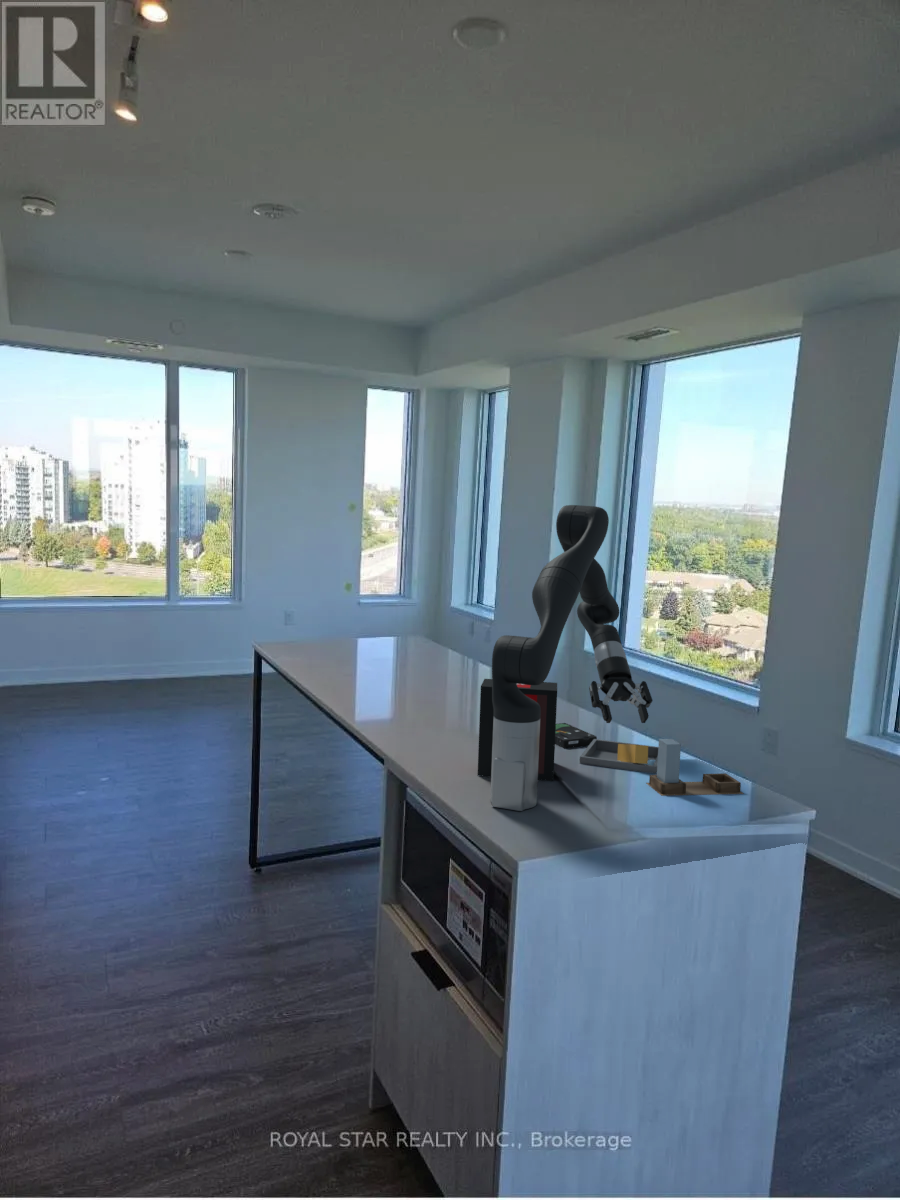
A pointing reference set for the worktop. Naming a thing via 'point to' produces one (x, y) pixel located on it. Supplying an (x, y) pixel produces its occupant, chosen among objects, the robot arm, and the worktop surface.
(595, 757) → the tray
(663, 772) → the block
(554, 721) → the cleaning product box
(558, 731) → the disk drive
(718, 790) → the block
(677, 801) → the worktop surface
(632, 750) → the yellow rectangular block
